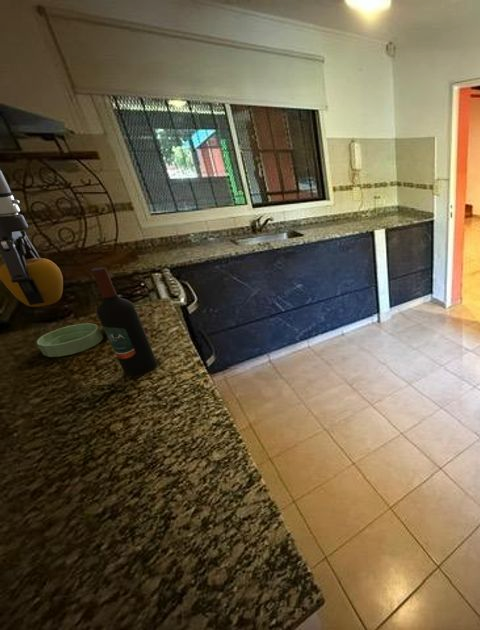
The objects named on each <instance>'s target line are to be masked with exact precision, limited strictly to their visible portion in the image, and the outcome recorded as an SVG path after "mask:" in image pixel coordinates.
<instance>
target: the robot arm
mask: <svg viewBox="0 0 480 630" xmlns="http://www.w3.org/2000/svg"><path fill="white" fill-rule="evenodd" d="M18 204H20V200H18V199H15V197H14V194H13V193H12V190H11V188H10V186H9V184H8V182H7V179H6V178H5V176H4V174H3V171H2V169H0V254H1V256H2V258H3V261H4V263H6V266H7V268H8V271H9V273H10V276H11V278H12V280H11V281H12V283H15V282H18V284H19V286H20V288H21V289H22V291H23V293H24V295H25V297H26V299H27V300H28V302H29V304H30V305H34V304H40V303H44V302H45V301H44V299H43V297H42V295H41V293H40V291H39V289H38V287H37V286H36V284H35V282H34V280H33V279H31V277H30V274H29V271H28V267H27V264H26V261H25V259H32V258H41V256H40V254H39V253H38V252H37V250H36V248H35V247H34V245H33V244H32V242H31V241H30V239H29V237H28V235H27V232H26V230H28V229H29V225H28V223H27V220H26V218H25V217H24V215H23V214H21V213H20V212H21V209H20V207H19V205H18ZM19 275H22V276H19Z"/></svg>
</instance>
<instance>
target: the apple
mask: <svg viewBox="0 0 480 630" xmlns="http://www.w3.org/2000/svg"><path fill="white" fill-rule="evenodd" d="M25 261H26V264H27V267H28V271H29V274H30V277H31V279H33V280H34V282H35V284H36V286H37V287H38V289H39V291H40V293H41V295H42V297H43V299H44V301H45V302H44V303H40V304H34V305H30V304H29V302H28V300H27V299H26V297H25V295H24V293H23V291H22V289H21V288H20V286H19V284H18V282H15V283H12V281H11V280H12V278H11V276H10V273H9V271H8V268H7V266H6V263H5V262H4V263H2V264H1V265H0V281H1V282H2V283H3V284H4V286H5V287H6V289H8V290H9V292H10V293H11V294H12V295H13V296H14V297H15V298H16V299H17V300H18V301H19V302H21V303H23V304H24V305H26V306H28V307H31V308H32V307H33V308H37V307H45V306H50V305H53V304H56V303H57V302H59V301H60V300H61V298H62V295H63V291H64V276H63V274H62V273H63V272H62V271H61V269H60V267H59V266H58V265H57V264H56V263H55V262H53V261H52V260H50V259H48V258H45V257H44V258H43V257H40V258H32V259H25ZM19 276H22V275H19Z"/></svg>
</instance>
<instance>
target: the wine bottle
mask: <svg viewBox="0 0 480 630" xmlns="http://www.w3.org/2000/svg"><path fill="white" fill-rule="evenodd" d="M90 272H91V274H92V277H93V278H94V280H95V282H96V285H97V287H98V289H99V292H100V294H101V296H102V302H101V303H100V304H99V305H98V306H97V309H96V316H97V315H98V317H99V319H100V322H101V324H102V325H101V324H100V325H101V326H102V328H103V330H104V332H105V335H106V336H107V339H108V341H109V343H110V345H111V347H112V350H113V352H114V354H115V356H116V359H117V360H118V363H119V364H120V366H121V369H122V371H123V373H124V375H125V376H126V377H139V376H143V375H146V374H148V373H150V372H152V371H153V370H155V369H156V368H157V367H158V365H159V363H158V361H157V358H156V356H155V353H154V351H153V348H152V346H151V343H150V341H149V337H148V336H147V334H146V331H145V329H144V326H143V324H142V321H141V319H140V317H139V314H138V311H137V309H136V307H135V306H136V305H134V303H133V302H132V301H130V300H128V299H126V298H123V297H120V296H119V295H118V294H117V291H116V289H115V287H114V283H113V282H112V280H111V277H110V275H109V271H108V269H107V268H106V267H105V266H99V267H94V268H91V269H90ZM100 322H99V323H100Z"/></svg>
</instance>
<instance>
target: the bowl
mask: <svg viewBox="0 0 480 630" xmlns="http://www.w3.org/2000/svg"><path fill="white" fill-rule="evenodd" d="M103 339H104V336H103V334H102V331H101V329H100V327H99V325H98V324H95V323H78V324H73V325H72V324H71V325H68V326H64V327H59V328H57V329H54V330H51V331H49V332H47V333H45V334H43V335H42V336H40V337H39V338H38V339H37V340H36V345H37V347H38V348H39V350H40V352H41V354H42V355H43V356H45V357H49V358H59V357H64V356H65V357H66V356H70V355H71V356H72V355H75V354H78V353H81V352H83V351H86V350H88V349H91V348H93V347H95V346H96V345H98V344H100V343H101V342H102V341H103Z"/></svg>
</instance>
